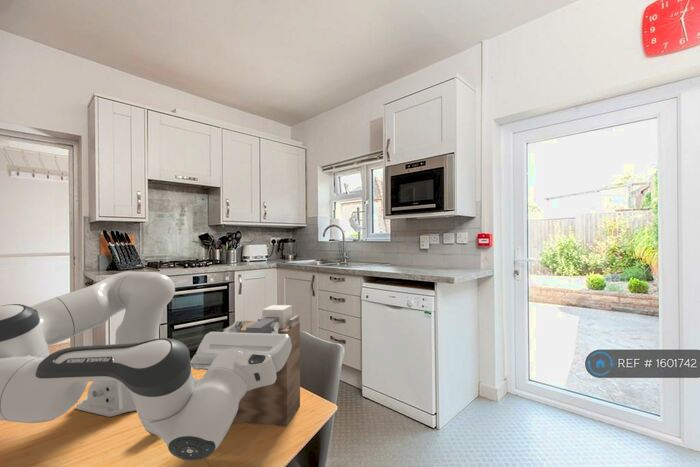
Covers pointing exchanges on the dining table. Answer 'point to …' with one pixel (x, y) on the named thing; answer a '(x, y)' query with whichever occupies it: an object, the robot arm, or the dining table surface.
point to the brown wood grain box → (275, 387)
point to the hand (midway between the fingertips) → (257, 323)
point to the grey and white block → (272, 319)
